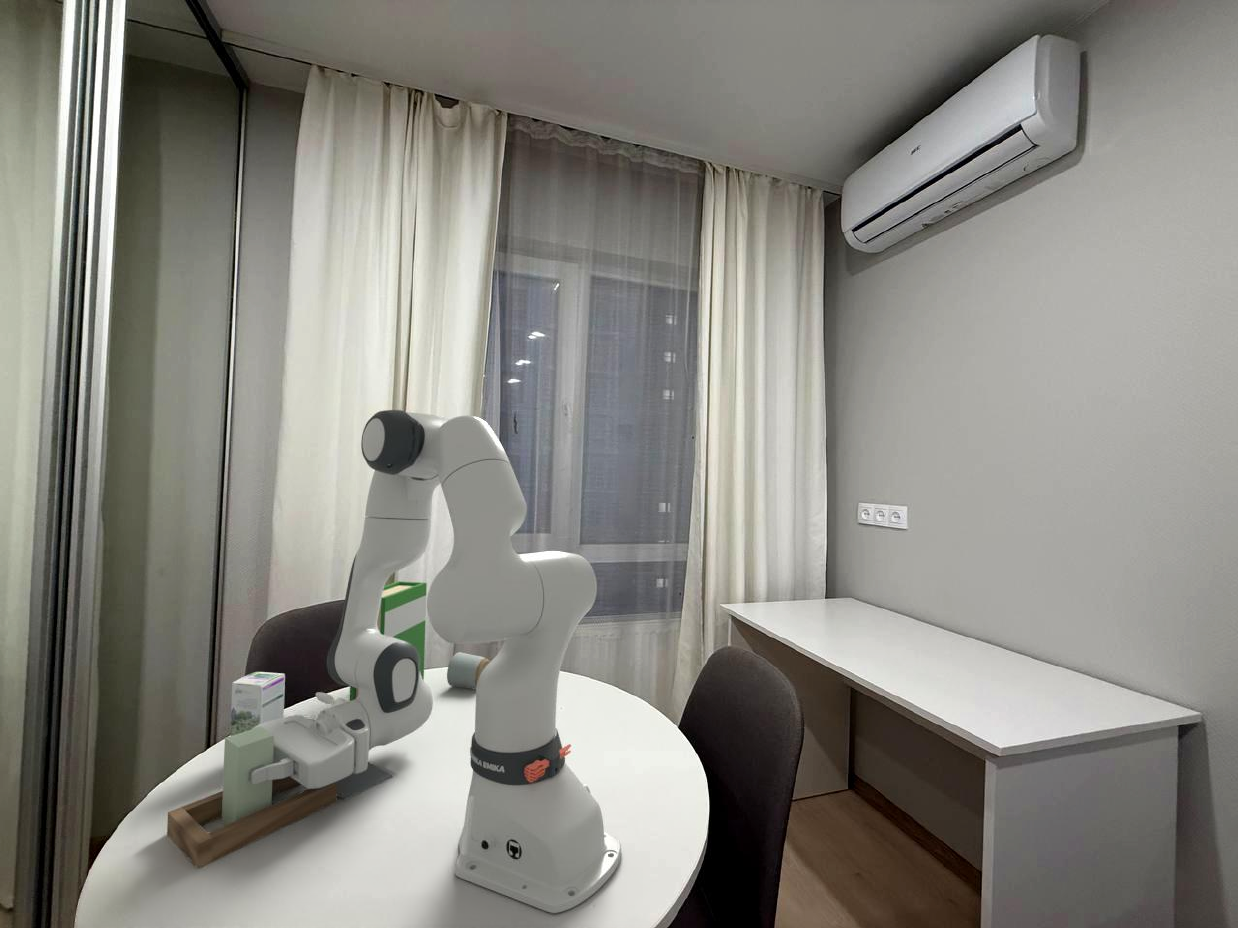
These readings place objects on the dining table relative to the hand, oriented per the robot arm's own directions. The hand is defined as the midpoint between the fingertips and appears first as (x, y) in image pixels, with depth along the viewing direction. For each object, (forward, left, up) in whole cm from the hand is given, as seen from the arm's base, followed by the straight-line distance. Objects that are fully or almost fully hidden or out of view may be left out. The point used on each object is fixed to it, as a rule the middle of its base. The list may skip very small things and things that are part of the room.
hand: (241, 770), depth 77 cm
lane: (0, -3, -8) cm, 8 cm away
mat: (0, -16, -8) cm, 18 cm away
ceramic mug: (+16, -54, -8) cm, 57 cm away
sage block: (0, -1, -8) cm, 8 cm away
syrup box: (+17, -9, -8) cm, 21 cm away
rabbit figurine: (+23, -25, -8) cm, 35 cm away
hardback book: (+25, -39, -8) cm, 47 cm away
